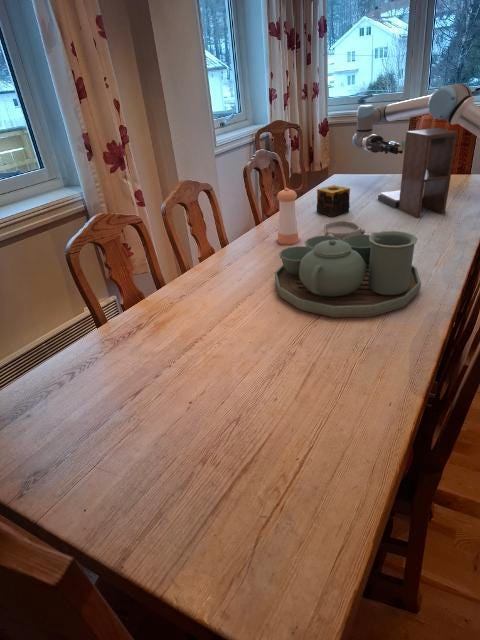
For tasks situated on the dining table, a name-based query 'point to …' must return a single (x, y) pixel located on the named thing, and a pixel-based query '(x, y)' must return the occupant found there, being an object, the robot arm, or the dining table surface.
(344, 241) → the tea set
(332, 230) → the dish
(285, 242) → the pepper shaker
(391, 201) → the whiteboard
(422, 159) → the shelf
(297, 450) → the dining table surface
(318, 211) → the candle
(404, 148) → the scoop
